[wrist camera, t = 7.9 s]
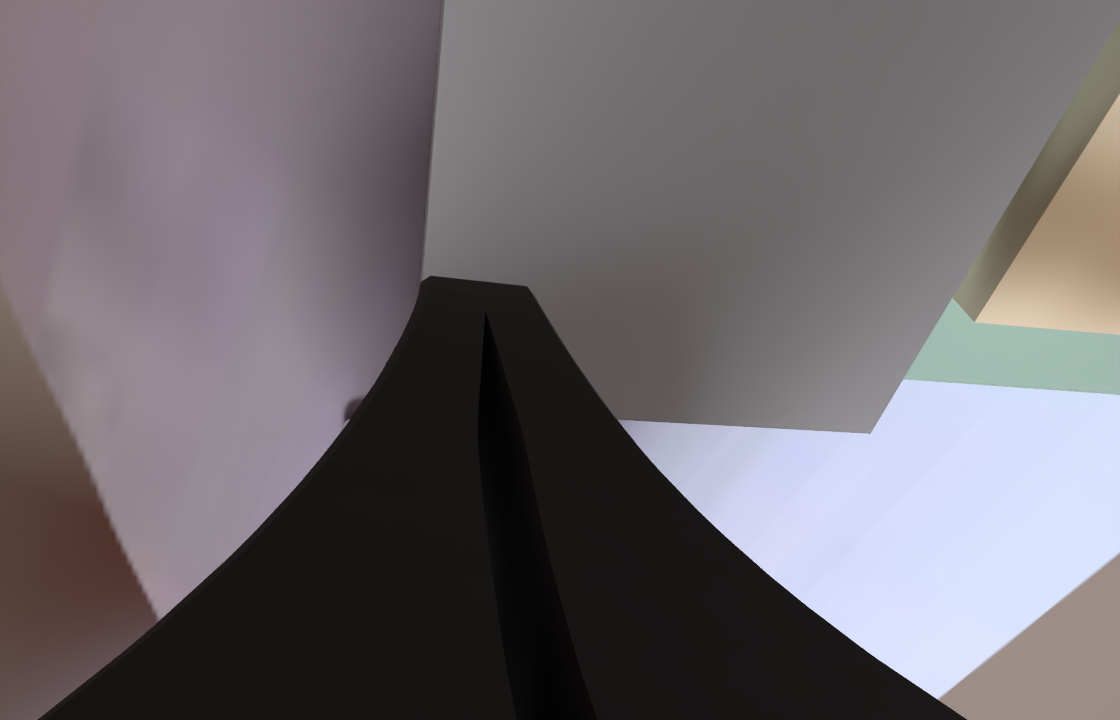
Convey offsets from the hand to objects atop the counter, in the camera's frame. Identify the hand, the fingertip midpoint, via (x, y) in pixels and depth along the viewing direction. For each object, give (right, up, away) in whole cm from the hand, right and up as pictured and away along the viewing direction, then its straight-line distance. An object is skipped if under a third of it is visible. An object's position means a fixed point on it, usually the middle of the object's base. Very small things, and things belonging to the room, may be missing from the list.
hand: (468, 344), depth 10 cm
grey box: (+4, +6, +8) cm, 11 cm away
